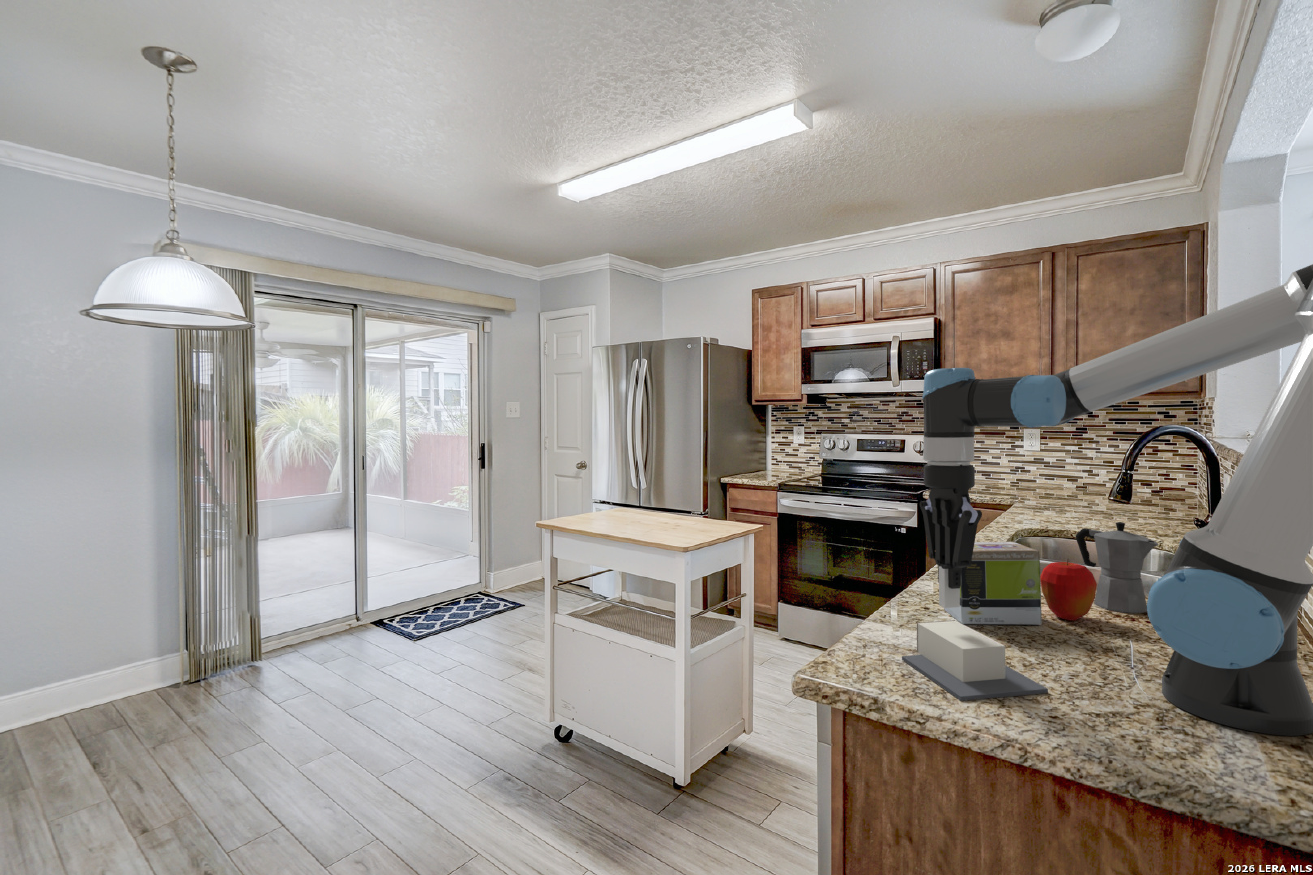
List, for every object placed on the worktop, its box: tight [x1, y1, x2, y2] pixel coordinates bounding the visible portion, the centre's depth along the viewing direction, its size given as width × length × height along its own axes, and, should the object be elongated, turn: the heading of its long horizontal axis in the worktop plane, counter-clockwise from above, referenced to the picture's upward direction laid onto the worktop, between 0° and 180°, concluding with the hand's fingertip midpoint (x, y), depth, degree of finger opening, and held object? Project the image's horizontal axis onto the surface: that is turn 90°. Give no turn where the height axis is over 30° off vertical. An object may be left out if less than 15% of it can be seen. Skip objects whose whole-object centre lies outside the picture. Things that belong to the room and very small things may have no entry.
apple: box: [1040, 559, 1098, 621], centre depth 119 cm, size 9×9×12 cm
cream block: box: [916, 619, 1006, 682], centre depth 96 cm, size 5×7×12 cm
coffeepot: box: [1075, 521, 1159, 614], centre depth 126 cm, size 15×9×18 cm, turn 25°
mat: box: [901, 654, 1049, 702], centre depth 93 cm, size 15×14×1 cm
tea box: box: [943, 541, 1043, 626], centre depth 120 cm, size 15×10×15 cm
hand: (949, 606), depth 98 cm, fingers closed
